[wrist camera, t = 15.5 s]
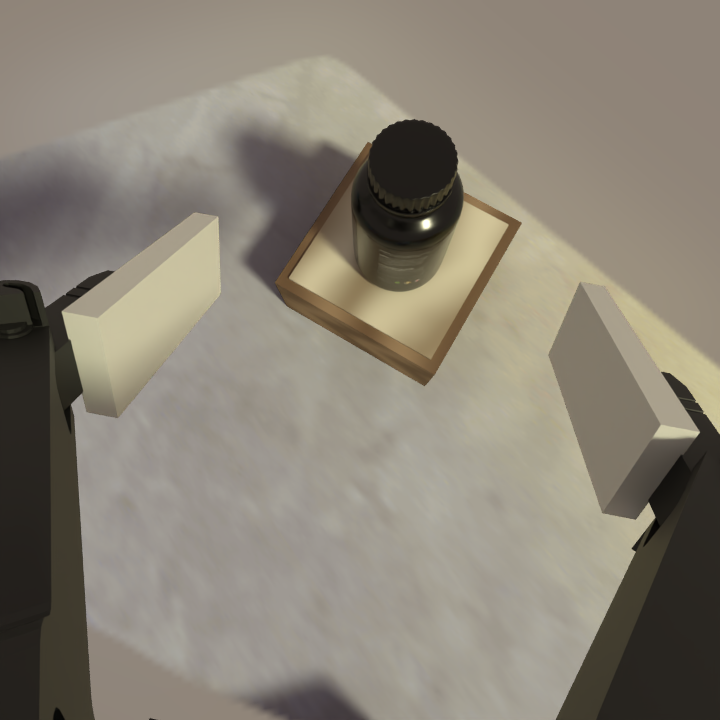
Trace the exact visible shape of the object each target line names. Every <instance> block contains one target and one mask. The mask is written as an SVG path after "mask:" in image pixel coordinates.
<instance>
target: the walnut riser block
mask: <svg viewBox="0 0 720 720" xmlns="http://www.w3.org/2000/svg"><path fill="white" fill-rule="evenodd" d="M371 147H372V144H371V143H369V142H367V144H366V145H365V147H364V149H363V150H362V152H361V153H360V155H359V156H358V158H357V159H356V161H355V162H354V164H353V165H352V167H351V168H350V170H349V171H348V173H347V174H346V176H345V177H344V179H343V180H342V182H341V183H340V185H339V186H338V188H337V189H336V191H335V192H334V194H333V195H332V197H331V198H330V200H329V201H328V203H327V205H326V206H325V208H324V209H323V211H322V212H321V214H320V215H319V217H318V218H317V220H316V221H315V223H314V224H313V226H312V227H311V229H310V230H309V232H308V233H307V235H306V236H305V238H304V239H303V241H302V242H301V244H300V245H299V247H298V248H297V250H296V251H295V253H294V254H293V256H292V257H291V259H290V260H289V262H288V264H287V265H286V267H285V268H284V270H283V271H282V273H281V274H280V276H279V277H278V279H277V280H276V282H275V284H276V286H277V288H278V290H279V292H280V294H281V295H282V297H283V299H284V301H285V303H286V305H287V306H288V307H289V308H291V309H293V310H294V311H296V312H298V313H300V314H301V315H303V316H305V317H307V318H308V319H310V320H312V321H313V322H315V323H317V324H319V325H320V326H322V327H324V328H325V329H327V330H329V331H331V332H332V333H334V334H336V335H338V336H339V337H341V338H343V339H344V340H346V341H348V342H350V343H351V344H353V345H355V346H356V347H358V348H360V349H362V350H363V351H365V352H367V353H369V354H370V355H372V356H374V357H375V358H377V359H379V360H381V361H382V362H384V363H386V364H387V365H389V366H391V367H393V368H394V369H396V370H398V371H399V372H401V373H403V374H405V375H406V376H408V377H410V378H412V379H413V380H415V381H417V382H418V383H420V384H422V385H424V386H425V385H426V384H427V383H428V382H429V381H430V379H431V378H432V377H433V376H434V375H435V373H436V371H437V370H438V368H439V366H440V364H441V363H442V361H443V359H444V357H445V356H446V354H447V352H448V350H449V349H450V347H451V345H452V344H453V342H454V340H455V338H456V337H457V335H458V333H459V331H460V330H461V328H462V326H463V324H464V323H465V321H466V319H467V317H468V316H469V314H470V312H471V311H472V309H473V307H474V305H475V304H476V302H477V300H478V298H479V297H480V295H481V293H482V291H483V290H484V288H485V286H486V284H487V283H488V281H489V279H490V277H491V276H492V274H493V272H494V271H495V269H496V267H497V265H498V264H499V262H500V260H501V258H502V257H503V255H504V253H505V251H506V250H507V248H508V246H509V244H510V243H511V241H512V239H513V238H514V236H515V234H516V232H517V231H518V229H519V227H520V225H521V224H522V223H521V222H519V221H517V220H515V219H514V218H512V217H510V216H508V215H506V214H504V213H502V212H500V211H498V210H496V209H495V208H493V207H491V206H489V205H487V204H485V203H483V202H481V201H479V200H477V199H476V198H474V197H472V196H470V195H468V194H466V193H464V203H463V208H462V212H461V216H460V218H459V221H458V224H457V226H456V229H455V231H454V234H453V236H452V239H451V241H450V244H449V246H448V249H447V251H446V254H445V256H444V259H443V261H442V263H441V266H440V268H439V270H438V271H437V273H436V274H435V275H434V276H433V278H432V279H431V280H430V281H428V282H427V283H426V284H424V285H423V286H421V287H419V288H416V289H414V290H410V291H405V292H393V291H388V290H384V289H382V288H379V287H377V286H376V285H374V284H372V283H371V282H370V281H369V280H368V279H367V278H366V277H365V276H364V275H363V274H362V272H361V271H360V269H359V267H358V265H357V263H356V260H355V255H354V246H353V230H352V213H351V190H352V185H353V181H354V178H355V176H356V174H357V172H358V170H359V169H360V167H361V166H362V164H363V163H364V162H365V161H366V160H367V159H368V157H369V150H370V148H371Z"/></svg>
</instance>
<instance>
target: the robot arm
mask: <svg viewBox="0 0 720 720" xmlns="http://www.w3.org/2000/svg"><path fill="white" fill-rule="evenodd" d="M220 294H221V286H220V256H219V226H218V216H212V215H207V214H201V213H196V212H194V213H193V214H192V215H190V216H189V217H188V218H186V219H185V220H184V221H182V222H181V223H180V224H178V225H177V226H176V227H174V228H173V229H172V230H170V231H169V232H168V233H166V234H165V235H164V236H162V237H161V238H160V239H158V240H157V241H155V242H154V243H153V244H151V245H150V246H149V247H147V248H146V249H145V250H143V251H142V252H141V253H139V254H138V255H137V256H135V257H134V258H133V259H131V260H130V261H129V262H127V263H126V264H125V265H123V266H122V267H121V268H119V269H118V270H117V271H115V272H114V271H105V272H102V273H99V274H96V275H94V276H91V277H89V278H87V279H86V280H84V281H83V282H81V283H80V284H79V285H77V287H76V288H73V289H72V290H70V291H69V292H67V293H66V296H65V295H63V296H62V297H60V298H59V299H57V300H56V301H55V302H53V303H52V304H50V305H49V306H47V307H46V308H45V307H44V304H43V300H42V296H41V293H40V290H39V288H38V286H36V285H34V284H32V283H30V282H25V281H19V280H3V281H0V720H95V719H94V714H93V708H92V700H91V687H90V673H89V672H90V671H89V654H88V638H87V621H86V605H85V588H84V572H83V555H82V539H81V522H80V506H79V489H78V473H77V456H76V440H75V423H74V414H73V410H72V407H71V403H72V402H73V401H74V400H75V399H76V398H77V397H78V396H79V395H80V394H81V393H82V395H83V399H84V403H85V407H86V411H87V412H89V413H94V414H99V415H105V416H110V417H115V418H118V417H119V416H120V415H121V414H122V413H123V411H124V410H125V409H126V408H127V406H128V405H129V404H130V403H131V402H132V400H133V399H134V398H135V397H136V396H137V394H138V393H139V392H140V391H141V390H142V388H143V387H144V386H145V385H146V384H147V382H148V381H149V380H150V379H151V377H152V376H153V375H154V374H155V373H156V371H157V370H158V369H159V368H160V367H161V365H162V364H163V363H164V362H165V361H166V359H167V358H168V357H169V356H170V355H171V353H172V352H173V351H174V350H175V348H176V347H177V346H178V345H179V344H180V342H181V341H182V340H183V339H184V338H185V336H186V335H187V334H188V333H189V332H190V330H191V329H192V328H193V327H194V326H195V324H196V323H197V322H198V321H199V319H200V318H201V317H202V316H203V315H204V313H205V312H206V311H207V310H208V309H209V307H210V306H211V305H212V304H213V303H214V301H215V300H216V299H217V298H218V297H219V295H220ZM549 358H550V361H551V363H552V366H553V369H554V372H555V375H556V378H557V381H558V384H559V387H560V390H561V393H562V396H563V399H564V402H565V405H566V408H567V411H568V413H569V416H570V419H571V422H572V425H573V428H574V431H575V434H576V437H577V440H578V443H579V446H580V449H581V452H582V455H583V458H584V460H585V463H586V466H587V469H588V472H589V475H590V478H591V481H592V484H593V487H594V490H595V493H596V496H597V499H598V502H599V505H600V507H601V510H602V513H605V514H610V515H615V516H620V517H625V518H630V519H635V520H636V519H637V517H638V516H639V515H640V513H641V512H642V510H643V509H644V508H645V506H646V505H647V504H648V502H649V503H650V505H651V508H652V510H653V512H654V514H655V517H656V518H655V519H654V520H653V521H652V523H651V524H650V525H649V527H648V528H647V529H646V531H645V532H644V533H643V534H642V536H641V537H640V538H639V540H638V541H637V542H636V544H635V545H634V546H633V547H632V549H633V550H634V551H636V553H635V555H634V557H633V559H632V561H631V563H630V565H629V567H628V570H627V572H626V574H625V576H624V578H623V580H622V582H621V584H620V586H619V588H618V590H617V593H616V595H615V597H614V599H613V601H612V603H611V605H610V607H609V609H608V611H607V613H606V616H605V618H604V620H603V622H602V624H601V626H600V628H599V630H598V632H597V634H596V636H595V639H594V641H593V643H592V645H591V647H590V649H589V651H588V653H587V655H586V657H585V660H584V662H583V664H582V666H581V668H580V670H579V672H578V674H577V676H576V678H575V680H574V683H573V685H572V687H571V689H570V691H569V693H568V695H567V697H566V699H565V701H564V703H563V706H562V708H561V710H560V712H559V714H558V716H557V718H556V720H720V434H719V433H718V432H717V430H716V429H715V427H714V426H713V424H712V423H711V422H710V420H709V419H708V417H707V416H706V414H703V412H704V411H703V410H702V409H701V407H700V406H699V404H698V403H695V401H696V400H695V399H694V397H693V396H692V394H691V393H690V391H689V390H688V389H687V387H686V386H685V385H684V384H682V383H681V382H680V381H679V380H677V379H676V378H675V377H674V376H673V375H671V374H670V373H665V372H660V370H659V368H658V367H657V365H656V364H655V362H654V361H653V359H652V358H651V356H650V355H649V353H648V352H647V350H646V349H645V347H644V345H643V344H642V342H641V341H640V339H639V338H638V336H637V335H636V333H635V332H634V330H633V329H632V327H631V326H630V324H629V322H628V321H627V319H626V318H625V316H624V315H623V313H622V312H621V310H620V309H619V307H618V306H617V304H616V303H615V301H614V299H613V298H612V296H611V295H610V293H609V292H608V290H607V289H606V287H605V286H600V285H595V284H589V283H584V282H580V283H579V286H578V288H577V290H576V293H575V295H574V297H573V300H572V302H571V304H570V306H569V309H568V311H567V313H566V316H565V318H564V320H563V323H562V325H561V327H560V329H559V332H558V334H557V336H556V339H555V341H554V343H553V346H552V348H551V350H550V352H549ZM149 720H155V719H151V718H150V719H149Z"/></svg>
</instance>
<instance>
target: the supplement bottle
mask: <svg viewBox="0 0 720 720" xmlns="http://www.w3.org/2000/svg"><path fill="white" fill-rule="evenodd" d="M457 165H458V158H457V151H456V150H455V145H454V143H453V142H452V140H451V138H450V137H449V136H447V134H446V132H445V131H443V130H441V129H440V127H438V126H434V125H433V124H432V123H428V122H425V121H423V120H420V121H418V120H415V119H413V120H404V121H402V122H401V121H399V122H396V123H395V124H392V125H389V126H388V127H387V128H385V129H383V130H382V132H381V133H380V134H378V135H377V137H376V139H375V140H374V141H373V142H372V147H371V148H370V150H369V157H368V159H367V160H366V161H365V162H364V163H363V164H362V166H361V167H360V169H359V170H358V172H357V174H356V176H355V178H354V181H353V185H352V190H351V213H352V230H353V246H354V255H355V260H356V263H357V265H358V267H359V269H360V271H361V272H362V274H363V275H364V276H365V277H366V278H367V279H368V280H369V281H370V282H371V283H372V284H374V285H376V286H377V287H379V288H382V289H384V290H388V291H393V292H405V291H410V290H414V289H416V288H419V287H421V286H423V285H424V284H426V283H427V282H428V281H430V280H431V279H432V278H433V276H434V275H435V274H436V273H437V271H438V270H439V268H440V266H441V263H442V261H443V259H444V256H445V254H446V251H447V249H448V246H449V244H450V241H451V239H452V236H453V234H454V231H455V229H456V226H457V224H458V221H459V218H460V216H461V212H462V208H463V203H464V191H463V185H462V182H461V179H460V176H459V174H458V172H457Z"/></svg>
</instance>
